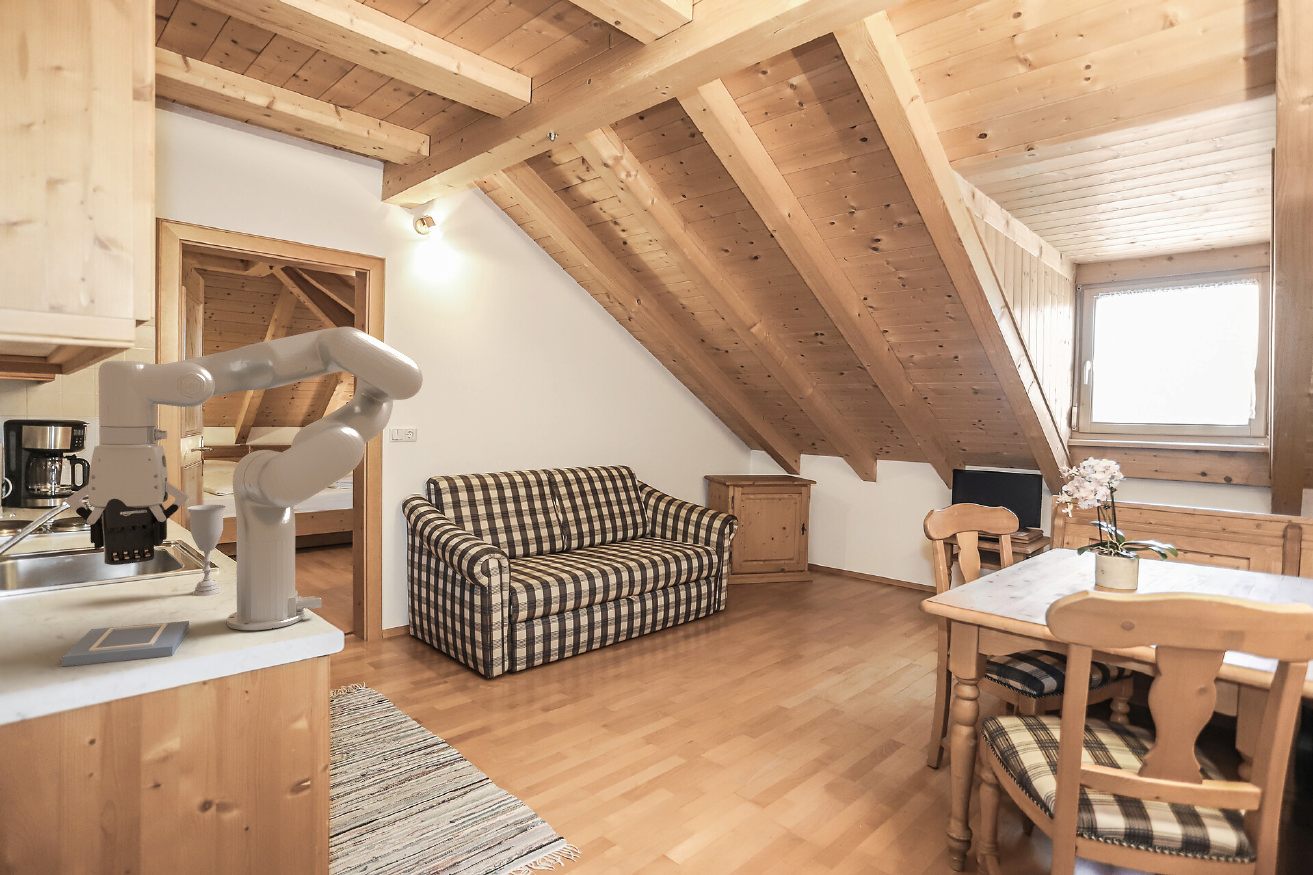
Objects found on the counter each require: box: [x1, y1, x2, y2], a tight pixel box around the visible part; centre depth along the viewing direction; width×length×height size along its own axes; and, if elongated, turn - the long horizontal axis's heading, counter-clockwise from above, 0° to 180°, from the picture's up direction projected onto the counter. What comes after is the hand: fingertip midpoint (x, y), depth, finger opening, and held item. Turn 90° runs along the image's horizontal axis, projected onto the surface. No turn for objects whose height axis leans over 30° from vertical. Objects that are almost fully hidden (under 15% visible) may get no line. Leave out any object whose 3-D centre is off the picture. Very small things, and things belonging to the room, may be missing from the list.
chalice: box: [187, 504, 226, 597], centre depth 150 cm, size 7×7×18 cm
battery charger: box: [102, 499, 156, 566], centre depth 117 cm, size 7×4×11 cm, turn 139°
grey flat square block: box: [61, 620, 190, 667], centre depth 117 cm, size 14×14×2 cm
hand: (129, 545), depth 117 cm, fingers closed on battery charger, 7 cm apart
